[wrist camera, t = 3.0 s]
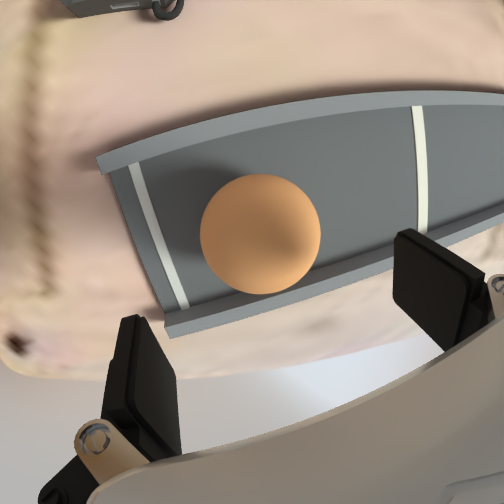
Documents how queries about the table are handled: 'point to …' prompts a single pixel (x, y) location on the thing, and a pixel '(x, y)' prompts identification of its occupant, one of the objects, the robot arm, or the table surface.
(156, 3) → the walkie-talkie
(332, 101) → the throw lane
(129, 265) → the table surface
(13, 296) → the table surface
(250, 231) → the ball
